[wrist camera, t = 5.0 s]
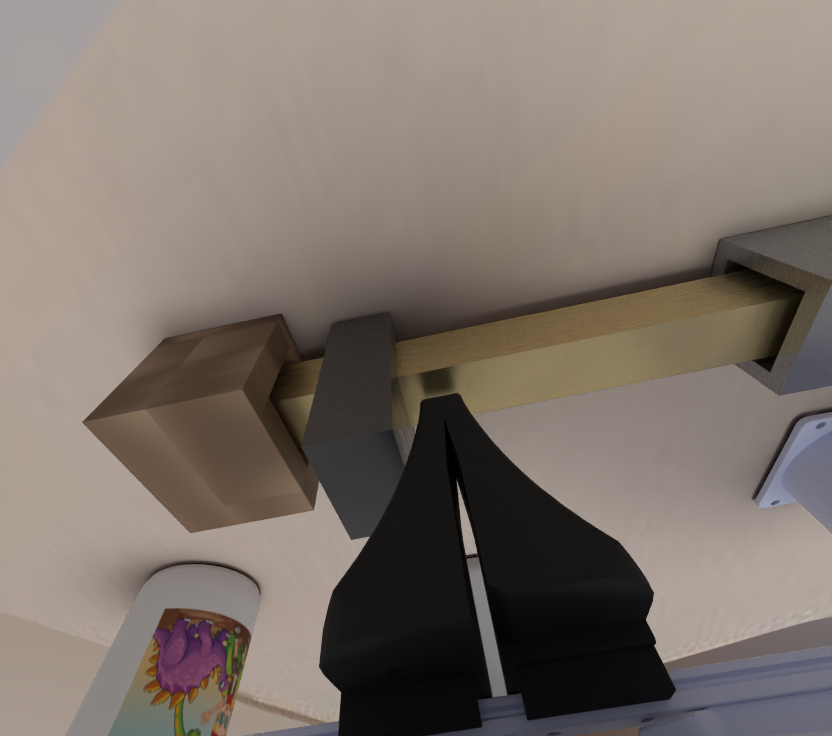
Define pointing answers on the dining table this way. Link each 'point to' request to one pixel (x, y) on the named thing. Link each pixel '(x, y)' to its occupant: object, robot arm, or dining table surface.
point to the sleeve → (818, 311)
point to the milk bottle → (174, 657)
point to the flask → (486, 629)
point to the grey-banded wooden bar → (508, 371)
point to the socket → (211, 427)
